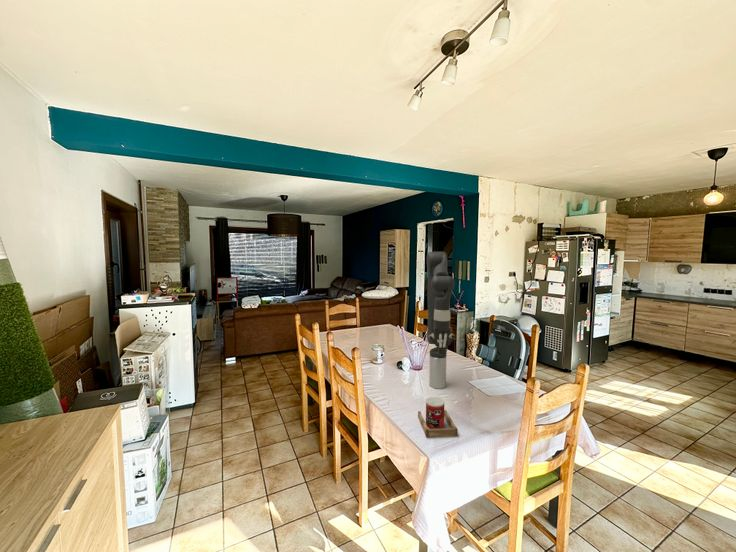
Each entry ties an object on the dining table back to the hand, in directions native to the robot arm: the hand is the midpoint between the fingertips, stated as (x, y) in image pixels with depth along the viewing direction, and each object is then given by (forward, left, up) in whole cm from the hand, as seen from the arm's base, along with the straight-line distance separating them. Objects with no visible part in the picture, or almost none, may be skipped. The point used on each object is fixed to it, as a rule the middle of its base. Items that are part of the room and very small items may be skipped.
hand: (441, 354), depth 145 cm
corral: (+14, -6, -27) cm, 31 cm away
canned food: (+13, -6, -27) cm, 31 cm away
